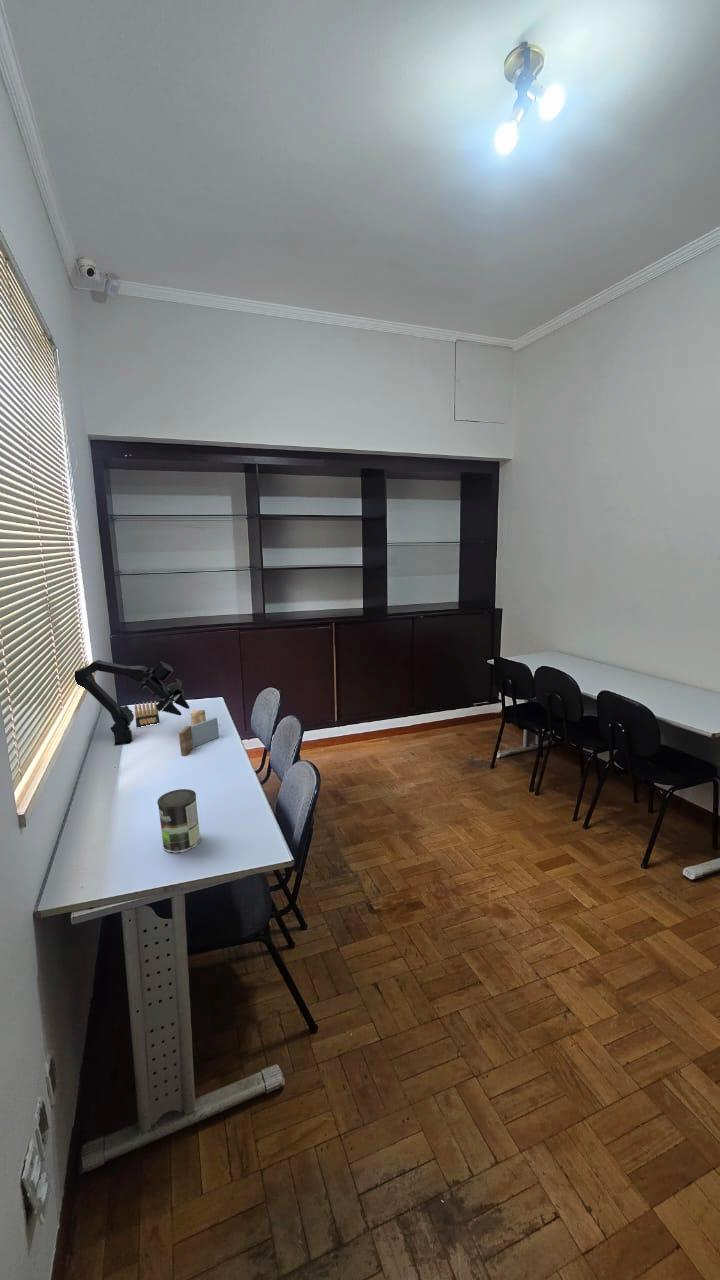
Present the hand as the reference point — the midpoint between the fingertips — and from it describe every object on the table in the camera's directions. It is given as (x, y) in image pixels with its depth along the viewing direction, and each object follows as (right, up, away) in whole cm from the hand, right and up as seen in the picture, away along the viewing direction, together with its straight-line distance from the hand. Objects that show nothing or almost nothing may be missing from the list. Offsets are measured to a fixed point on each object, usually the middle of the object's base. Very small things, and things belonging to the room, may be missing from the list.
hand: (185, 711), depth 227 cm
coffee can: (+27, -27, -81) cm, 89 cm away
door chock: (+6, -12, +2) cm, 14 cm away
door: (+10, -13, -3) cm, 17 cm away
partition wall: (+6, -15, -13) cm, 21 cm away
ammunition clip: (-26, -10, +23) cm, 36 cm away
